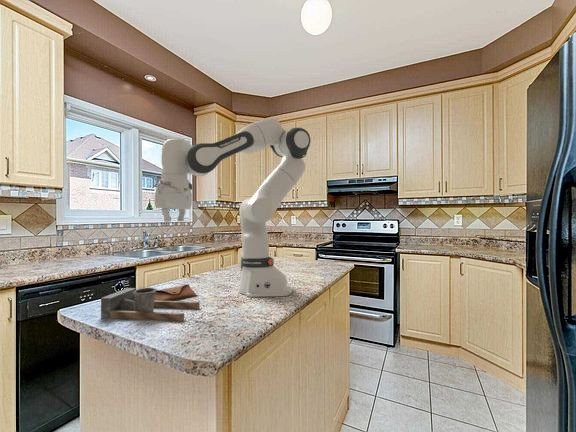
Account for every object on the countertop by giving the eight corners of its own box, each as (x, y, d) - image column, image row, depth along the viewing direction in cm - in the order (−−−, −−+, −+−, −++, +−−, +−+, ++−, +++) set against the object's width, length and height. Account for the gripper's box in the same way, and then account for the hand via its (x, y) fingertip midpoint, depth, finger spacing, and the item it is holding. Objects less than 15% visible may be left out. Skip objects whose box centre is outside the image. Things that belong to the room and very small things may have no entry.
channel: (199, 307, 97) (199, 290, 97) (182, 321, 85) (182, 300, 85) (127, 305, 100) (127, 287, 100) (100, 317, 88) (101, 298, 88)
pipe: (129, 309, 95) (129, 285, 95) (162, 313, 92) (162, 288, 92) (114, 315, 89) (114, 290, 89) (147, 320, 86) (147, 293, 86)
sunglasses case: (153, 306, 99) (149, 287, 101) (146, 312, 103) (142, 294, 105) (200, 295, 112) (195, 279, 115) (191, 301, 116) (187, 285, 119)
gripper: (167, 179, 93) (167, 222, 93) (194, 186, 114) (194, 221, 114) (149, 179, 94) (149, 222, 94) (179, 186, 114) (179, 221, 114)
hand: (174, 221), depth 104 cm, fingers open, 8 cm apart
